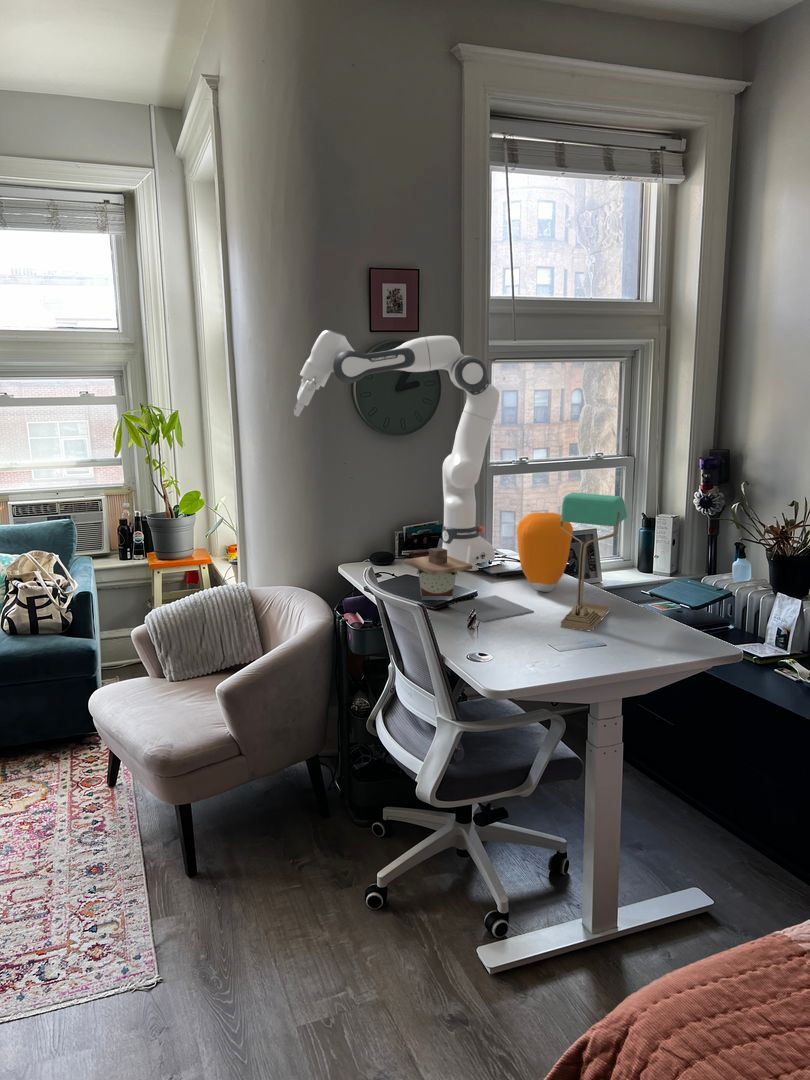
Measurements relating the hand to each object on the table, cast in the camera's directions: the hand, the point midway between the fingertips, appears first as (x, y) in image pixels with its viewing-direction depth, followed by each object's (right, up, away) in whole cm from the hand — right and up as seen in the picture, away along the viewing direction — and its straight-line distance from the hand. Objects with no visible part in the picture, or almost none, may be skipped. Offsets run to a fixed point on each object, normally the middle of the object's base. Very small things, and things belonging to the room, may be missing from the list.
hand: (295, 414), depth 269 cm
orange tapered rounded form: (+79, -58, -14) cm, 99 cm away
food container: (+46, -59, -21) cm, 78 cm away
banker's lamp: (+87, -64, -40) cm, 115 cm away
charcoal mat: (+61, -62, -32) cm, 92 cm away
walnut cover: (+46, -49, -23) cm, 71 cm away
